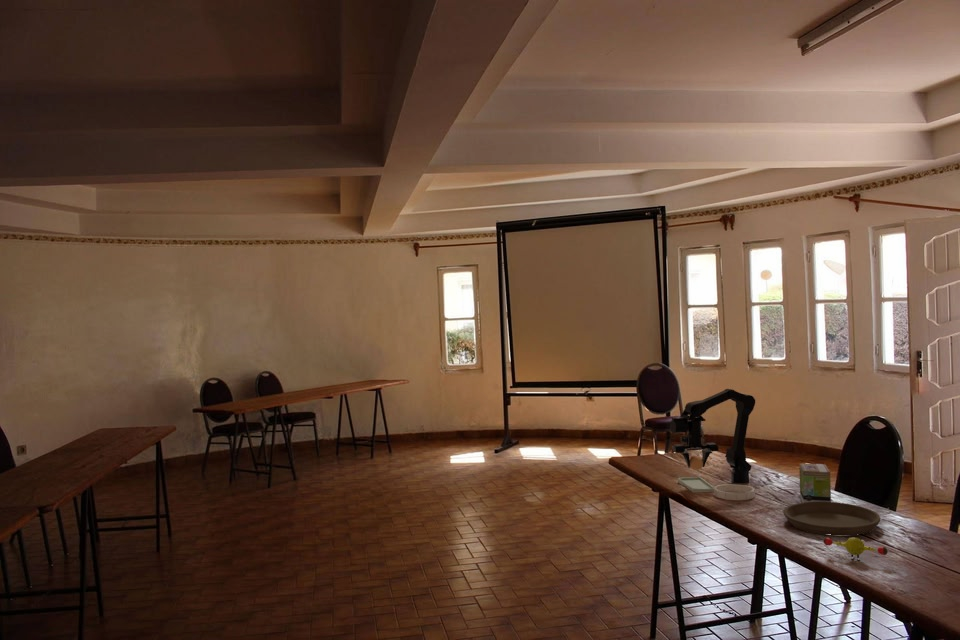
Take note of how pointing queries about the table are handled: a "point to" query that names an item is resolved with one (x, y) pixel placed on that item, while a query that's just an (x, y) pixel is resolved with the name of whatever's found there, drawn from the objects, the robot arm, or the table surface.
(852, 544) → the toy figure
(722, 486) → the bowl
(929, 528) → the table surface
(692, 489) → the tray
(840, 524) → the plant saucer
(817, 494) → the tea box
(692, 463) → the ball
